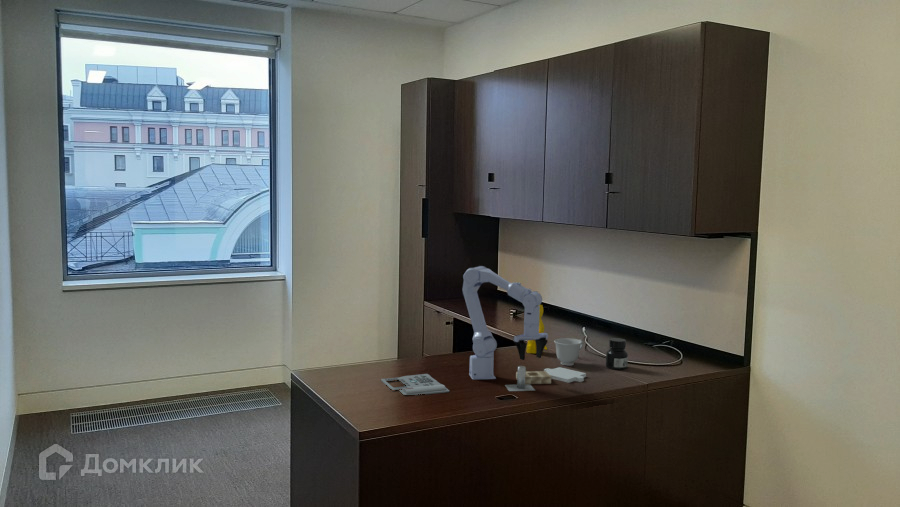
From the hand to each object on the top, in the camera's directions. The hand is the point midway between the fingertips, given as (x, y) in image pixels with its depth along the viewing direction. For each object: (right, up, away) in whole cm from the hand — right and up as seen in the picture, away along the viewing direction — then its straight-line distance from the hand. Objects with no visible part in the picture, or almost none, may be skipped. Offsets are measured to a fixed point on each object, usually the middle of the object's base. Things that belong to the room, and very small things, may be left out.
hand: (530, 358), depth 271 cm
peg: (-4, -10, -4) cm, 12 cm away
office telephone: (-45, -11, -3) cm, 46 cm away
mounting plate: (+15, -10, +13) cm, 22 cm away
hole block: (+2, -10, +5) cm, 11 cm away
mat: (-5, -11, -4) cm, 12 cm away
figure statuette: (+8, -5, +53) cm, 54 cm away
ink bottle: (+40, -8, +29) cm, 50 cm away
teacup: (+21, -7, +34) cm, 41 cm away
